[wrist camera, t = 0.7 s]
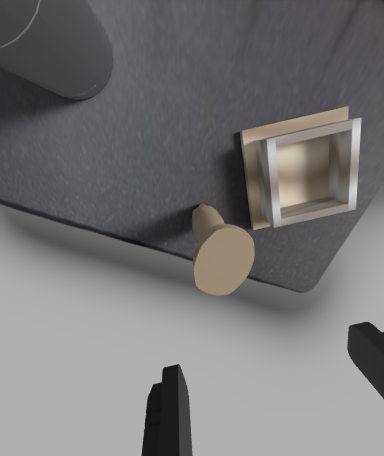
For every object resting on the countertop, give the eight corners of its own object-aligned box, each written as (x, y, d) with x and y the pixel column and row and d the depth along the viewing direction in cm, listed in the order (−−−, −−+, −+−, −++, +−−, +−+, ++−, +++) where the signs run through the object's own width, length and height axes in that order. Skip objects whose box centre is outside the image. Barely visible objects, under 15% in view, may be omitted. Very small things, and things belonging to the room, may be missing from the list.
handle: (225, 197, 32) (264, 236, 18) (210, 236, 34) (236, 299, 20) (193, 188, 31) (209, 221, 17) (181, 228, 33) (185, 288, 19)
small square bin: (239, 131, 29) (252, 128, 24) (342, 107, 29) (375, 99, 24) (251, 227, 34) (263, 240, 29) (339, 207, 34) (366, 217, 29)
